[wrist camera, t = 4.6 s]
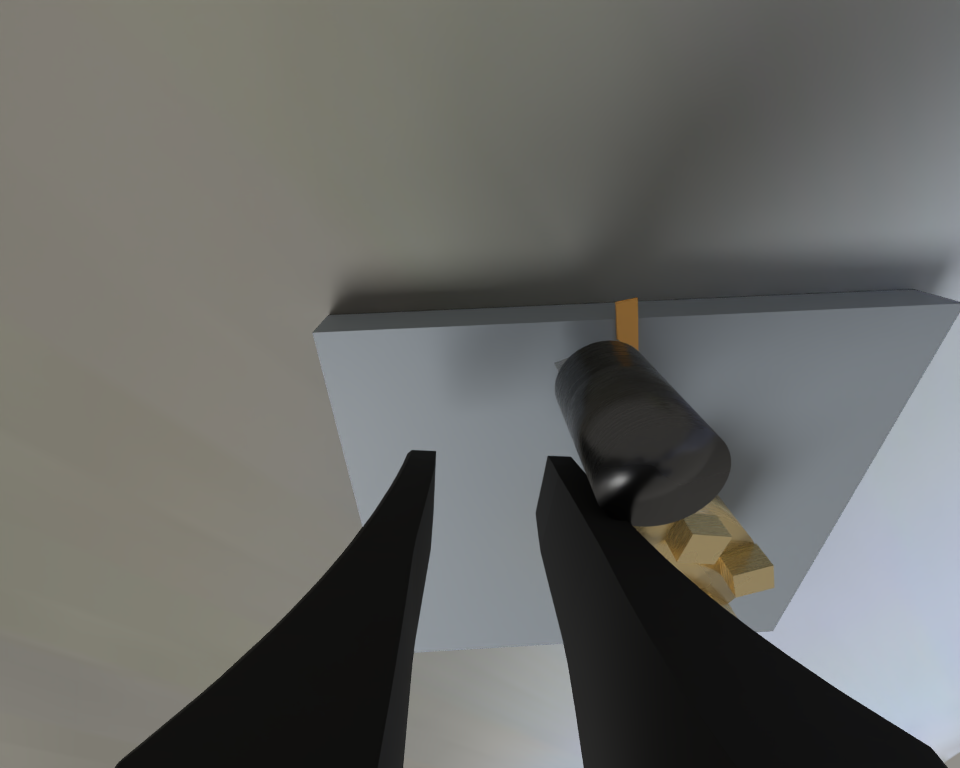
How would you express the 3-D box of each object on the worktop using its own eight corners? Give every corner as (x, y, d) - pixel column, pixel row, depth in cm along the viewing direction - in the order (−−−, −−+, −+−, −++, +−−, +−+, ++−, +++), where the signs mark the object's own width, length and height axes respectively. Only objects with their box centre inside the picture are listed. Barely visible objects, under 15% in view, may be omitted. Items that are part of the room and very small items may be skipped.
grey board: (923, 270, 13) (981, 283, 11) (753, 602, 21) (774, 633, 20) (323, 296, 12) (305, 313, 11) (399, 622, 21) (394, 655, 19)
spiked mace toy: (725, 555, 16) (827, 706, 12) (576, 595, 17) (617, 749, 13) (688, 275, 10) (860, 360, 6) (467, 360, 11) (469, 488, 7)
